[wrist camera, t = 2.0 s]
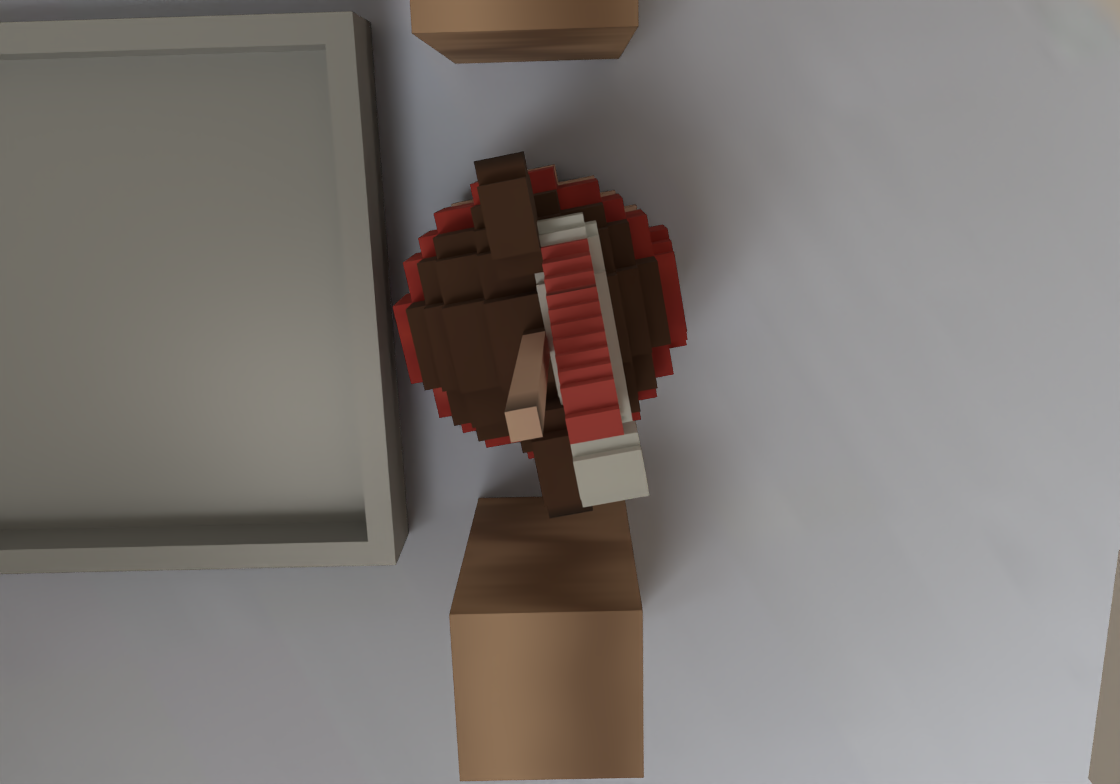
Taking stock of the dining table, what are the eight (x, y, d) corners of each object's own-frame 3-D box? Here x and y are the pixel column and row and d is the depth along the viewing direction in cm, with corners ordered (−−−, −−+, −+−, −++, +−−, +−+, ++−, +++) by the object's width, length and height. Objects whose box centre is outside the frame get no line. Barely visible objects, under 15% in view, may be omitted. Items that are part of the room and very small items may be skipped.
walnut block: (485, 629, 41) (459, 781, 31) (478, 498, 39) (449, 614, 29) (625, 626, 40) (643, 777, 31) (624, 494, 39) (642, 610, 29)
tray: (-67, 544, 40) (-117, 576, 37) (-174, 39, 35) (-242, 30, 32) (408, 533, 39) (395, 564, 37) (370, 22, 34) (352, 11, 31)
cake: (396, 177, 36) (233, 209, 18) (639, 128, 35) (709, 114, 18) (457, 441, 38) (366, 688, 21) (684, 399, 38) (783, 617, 21)
